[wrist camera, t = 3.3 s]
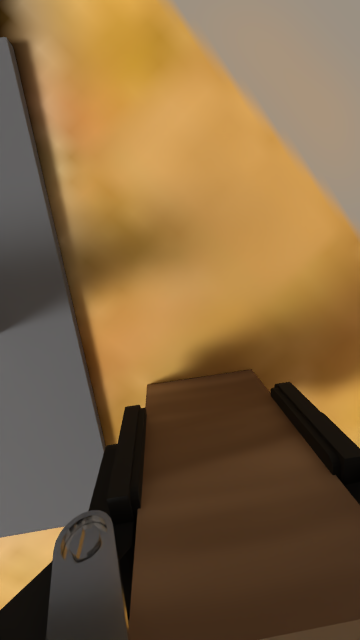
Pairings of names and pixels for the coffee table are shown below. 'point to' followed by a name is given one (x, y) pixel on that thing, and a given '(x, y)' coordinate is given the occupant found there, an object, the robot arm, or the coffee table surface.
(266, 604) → the flat brown wooden slab
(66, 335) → the mat
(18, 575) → the coffee table surface
